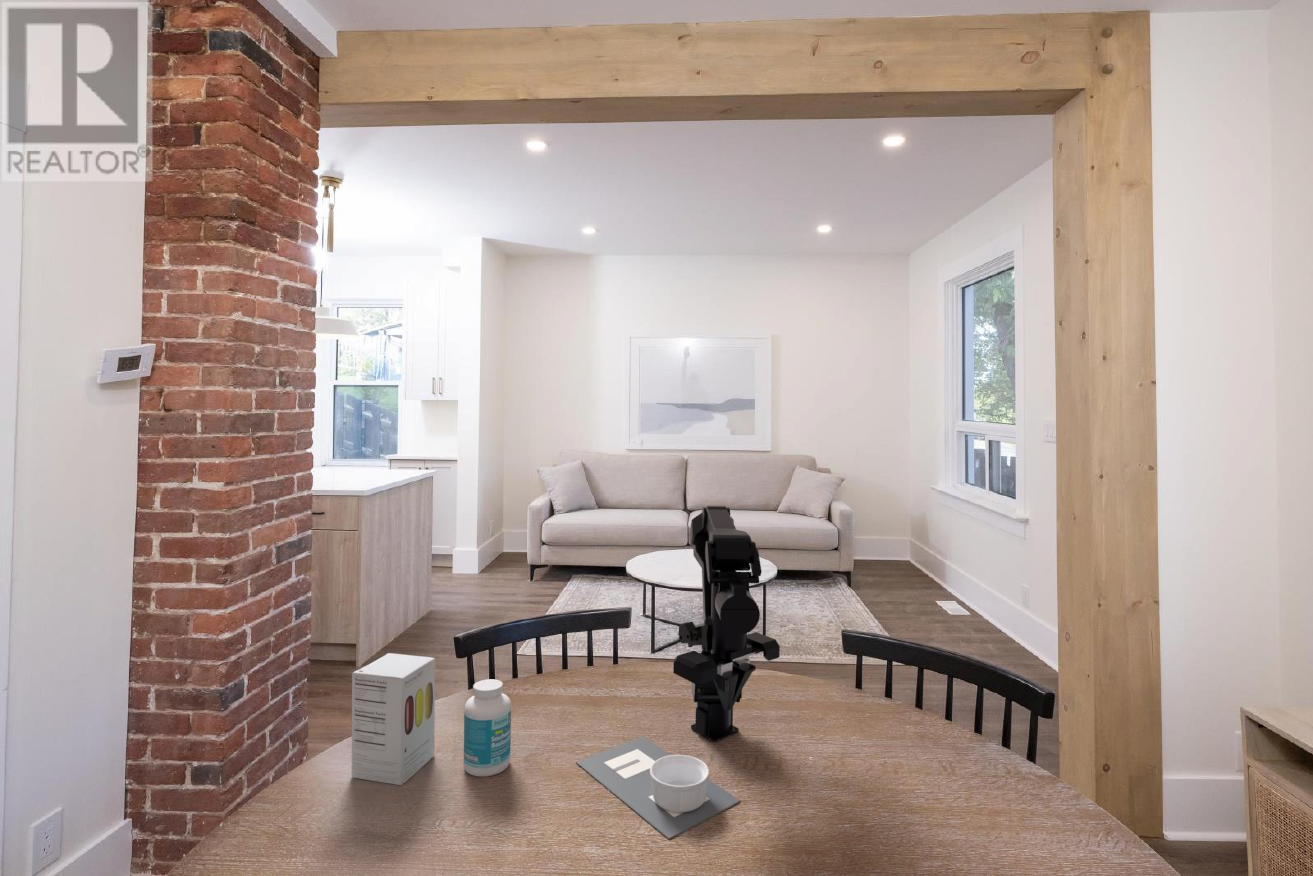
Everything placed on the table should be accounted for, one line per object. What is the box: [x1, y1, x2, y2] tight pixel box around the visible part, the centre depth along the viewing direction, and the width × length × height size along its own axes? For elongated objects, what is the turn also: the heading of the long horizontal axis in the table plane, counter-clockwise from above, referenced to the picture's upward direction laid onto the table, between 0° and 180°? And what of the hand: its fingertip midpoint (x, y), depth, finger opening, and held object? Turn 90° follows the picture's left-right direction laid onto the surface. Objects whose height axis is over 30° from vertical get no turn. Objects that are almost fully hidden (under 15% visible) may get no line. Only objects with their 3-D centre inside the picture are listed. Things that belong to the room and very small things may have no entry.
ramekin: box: [650, 754, 710, 812], centre depth 95 cm, size 9×9×4 cm
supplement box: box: [351, 652, 436, 786], centre depth 102 cm, size 10×9×17 cm
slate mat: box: [575, 736, 742, 840], centre depth 99 cm, size 14×24×1 cm, turn 39°
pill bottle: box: [463, 678, 512, 778], centre depth 103 cm, size 8×7×14 cm
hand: (727, 709), depth 101 cm, fingers closed
